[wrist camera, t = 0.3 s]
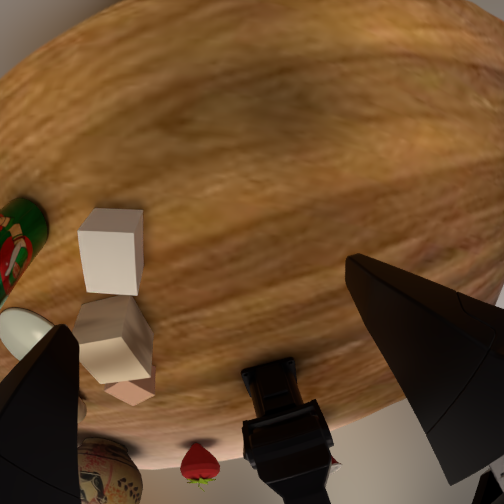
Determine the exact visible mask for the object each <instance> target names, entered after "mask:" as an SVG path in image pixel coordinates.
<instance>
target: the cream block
mask: <svg viewBox="0 0 504 504" xmlns="http://www.w3.org/2000/svg"><path fill="white" fill-rule="evenodd" d="M77 231H78V240H79V247H80V254H81V261H82V267H83V273H84V279H85V284H86V289H87V292H93V293H106V294H120V295H135V296H138V291H139V286H140V281H141V277H142V272H143V268H144V256H143V210H134V209H106V208H94V209H93V210H92V212H91V213H90V214H89V216H88V217H87V218H86V220H85V221H84V222H83V224H82V225H81V226H80V228H79V229H78V230H77Z"/></svg>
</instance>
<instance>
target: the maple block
mask: <svg viewBox="0 0 504 504" xmlns="http://www.w3.org/2000/svg"><path fill="white" fill-rule="evenodd" d="M72 333H73V335H74V336H75V338H76V339H77V340H78V342H79V346H80V354H79V361H80V362H81V363H82V364H83V366H84V367H85V368H86V369H87V370H88V371H89V372H90V373H91V375H92V376H93V377H94V378H95V379H96V380H97V381H98V382H99V383H100V384H105V383H114V382H122V381H129V380H137V379H144V378H150V377H151V366H152V349H153V336H154V334H153V332H152V330H151V328H150V327H149V325H148V323H147V322H146V320H145V318H144V316H143V315H142V313H141V311H140V309H139V307H138V306H137V304H136V302H135V300H134V298H133V296H132V295H118V296H114V297H110V298H106V299H102V300H98V301H94V302H90V303H86V304H82V306H81V309H80V311H79V314H78V317H77V320H76V322H75V325H74V328H73V331H72Z"/></svg>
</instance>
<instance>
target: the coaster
mask: <svg viewBox="0 0 504 504" xmlns="http://www.w3.org/2000/svg"><path fill="white" fill-rule="evenodd" d="M53 326H54V325H53V324H52V323H50V322H49V321H48V320H46V319H45V318H43V317H42V316H40V315H38V314H36V313H34V312H32V311H29V310H26V309H22V308H9V309H6V310H4V311H3V312H2V313H1V315H0V338H1V340H2V342H3V343H4V345H5V346H6V348H7V349H8V350H9V351H10V352H11V353H12V354H13V355H14V356H15V357H16V358H17V359H18V360H19V361H20V360H21V359H22V358H23V357H24V356H25V355H26V354H27V353H28V352H29V351H30V350H31V349H32V348H33V347H34V346H35V345H36V344H37V342H38V341H39V340H40V339H41V338H42V337H43V336H44V335H45V334H46V333H47V332H48V331H49V330H50V329H51V328H52V327H53Z"/></svg>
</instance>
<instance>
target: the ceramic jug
mask: <svg viewBox="0 0 504 504" xmlns="http://www.w3.org/2000/svg"><path fill="white" fill-rule="evenodd" d="M127 452H128V450H127V448H126V447H125V446H124V445H119V444H118V443H116V442H113V441H110V440H106V439H102V438H86V439H85V440H84V441H83V443H82V445H81V446H79V447H78V470H79V484H80V494H81V501H82V504H139V503H140V499H141V495H142V490H143V484H142V478H141V474H140V472H139V470H138V468H137V466H136V465H135V464H134V462H133V461H132V460H131V458H130V457H129V455H128V453H127Z"/></svg>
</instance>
